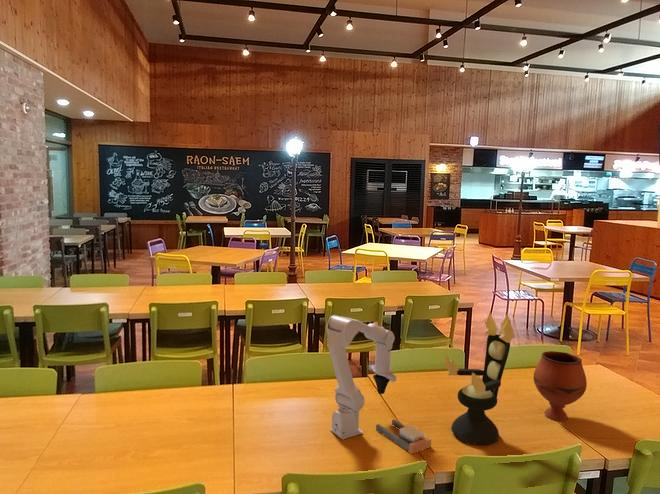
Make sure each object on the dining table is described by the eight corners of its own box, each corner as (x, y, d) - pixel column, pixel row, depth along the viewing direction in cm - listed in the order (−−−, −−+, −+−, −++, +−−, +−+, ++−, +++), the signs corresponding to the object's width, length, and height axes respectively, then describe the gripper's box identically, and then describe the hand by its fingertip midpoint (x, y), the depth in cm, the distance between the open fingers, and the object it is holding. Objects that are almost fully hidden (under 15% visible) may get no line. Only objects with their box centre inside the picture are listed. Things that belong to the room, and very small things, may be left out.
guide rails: (411, 454, 173) (412, 445, 172) (376, 429, 189) (376, 422, 188) (430, 447, 177) (431, 439, 177) (394, 424, 194) (394, 416, 193)
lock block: (413, 450, 175) (414, 436, 175) (399, 442, 181) (399, 428, 180) (423, 446, 178) (424, 432, 178) (408, 438, 184) (409, 425, 183)
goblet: (589, 430, 194) (595, 367, 191) (535, 424, 197) (540, 362, 194) (575, 409, 212) (581, 351, 209) (526, 403, 216) (531, 346, 213)
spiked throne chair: (438, 426, 193) (445, 309, 188) (487, 418, 201) (495, 306, 196) (468, 451, 176) (477, 323, 170) (520, 441, 184) (530, 319, 178)
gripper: (403, 363, 193) (401, 398, 195) (379, 352, 205) (377, 384, 207) (388, 366, 189) (387, 401, 191) (365, 355, 201) (363, 388, 203)
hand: (381, 393), depth 199 cm, fingers closed
